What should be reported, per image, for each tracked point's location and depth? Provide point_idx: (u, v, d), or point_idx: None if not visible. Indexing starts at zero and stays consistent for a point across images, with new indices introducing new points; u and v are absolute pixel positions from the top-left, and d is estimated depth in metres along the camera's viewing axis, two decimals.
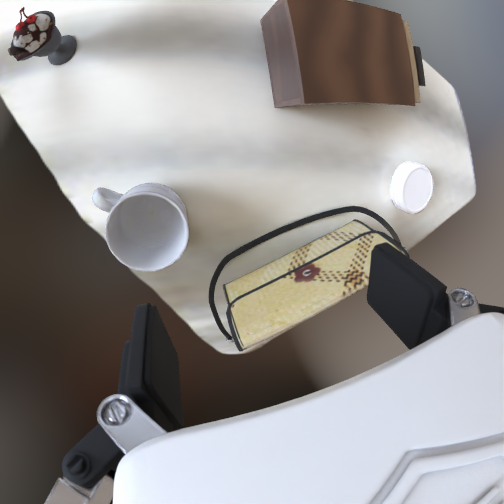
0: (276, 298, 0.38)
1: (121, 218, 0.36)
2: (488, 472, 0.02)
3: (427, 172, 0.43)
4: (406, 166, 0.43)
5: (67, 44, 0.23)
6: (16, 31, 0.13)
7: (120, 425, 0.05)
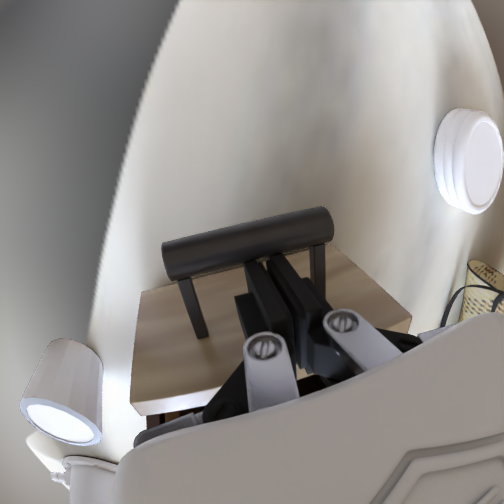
0: None
1: None
2: (488, 472, 0.02)
3: (470, 136, 0.16)
4: (449, 186, 0.19)
5: None
6: None
7: (261, 360, 0.07)
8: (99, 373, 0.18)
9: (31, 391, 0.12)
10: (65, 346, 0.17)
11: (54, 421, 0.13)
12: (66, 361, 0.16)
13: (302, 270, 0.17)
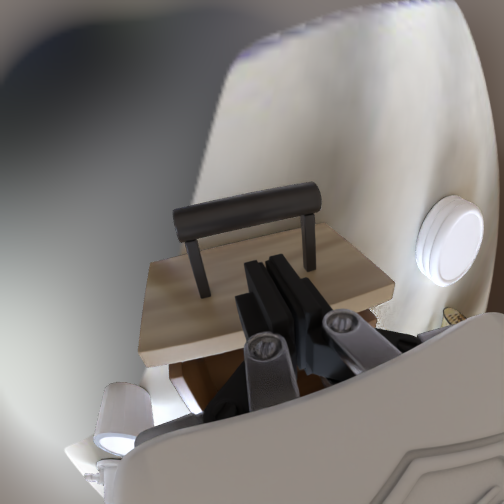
0: None
1: None
2: (488, 472, 0.02)
3: (449, 232, 0.22)
4: (426, 269, 0.25)
5: None
6: None
7: (262, 360, 0.07)
8: (150, 405, 0.26)
9: (105, 427, 0.19)
10: (124, 389, 0.24)
11: (121, 445, 0.20)
12: (128, 401, 0.23)
13: (297, 243, 0.19)
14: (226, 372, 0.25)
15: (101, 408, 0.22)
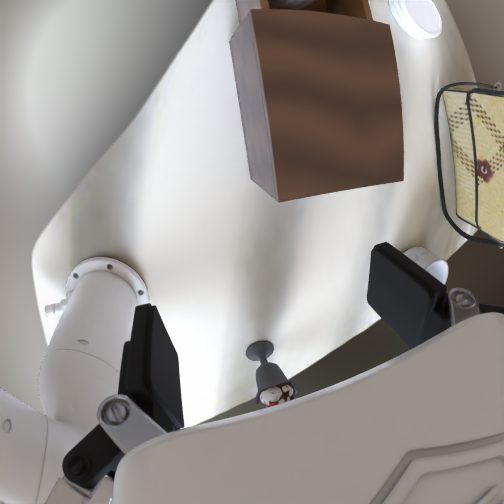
0: (492, 203, 0.33)
1: None
2: (488, 472, 0.02)
3: None
4: (401, 16, 0.24)
5: (258, 349, 0.45)
6: None
7: (120, 425, 0.05)
8: None
9: None
10: None
11: None
12: None
13: None
14: None
15: None
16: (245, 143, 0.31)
